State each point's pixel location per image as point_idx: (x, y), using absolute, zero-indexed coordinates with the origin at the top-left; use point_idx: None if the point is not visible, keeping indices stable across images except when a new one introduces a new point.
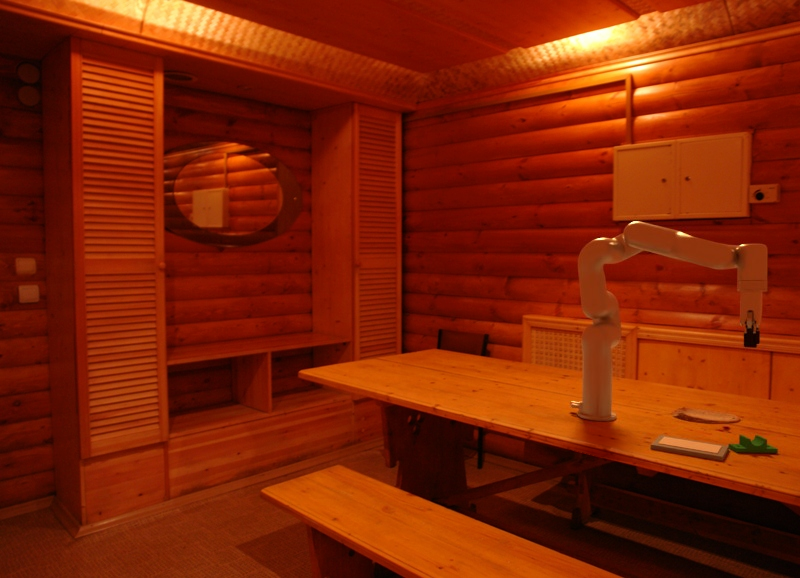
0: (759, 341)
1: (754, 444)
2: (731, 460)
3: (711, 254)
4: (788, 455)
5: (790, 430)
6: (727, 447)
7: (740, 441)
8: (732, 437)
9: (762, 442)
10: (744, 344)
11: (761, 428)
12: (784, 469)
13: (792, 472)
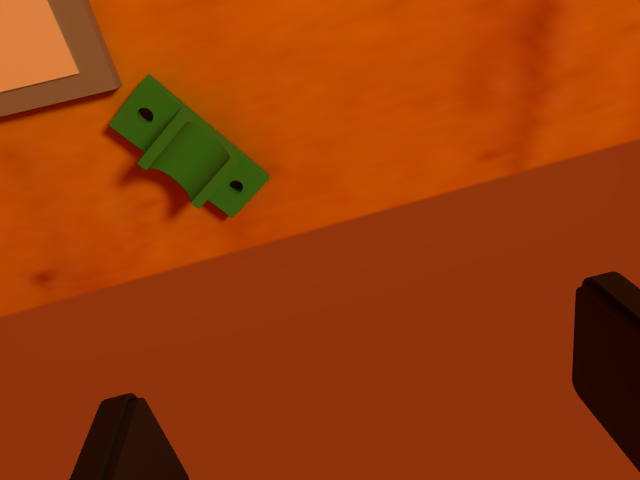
0: (597, 413)
1: (183, 164)
2: (3, 141)
3: None
4: (241, 237)
5: (589, 143)
6: (89, 93)
7: (174, 116)
8: (326, 23)
9: (192, 191)
10: (97, 428)
11: (560, 57)
12: (78, 274)
13: (71, 294)
